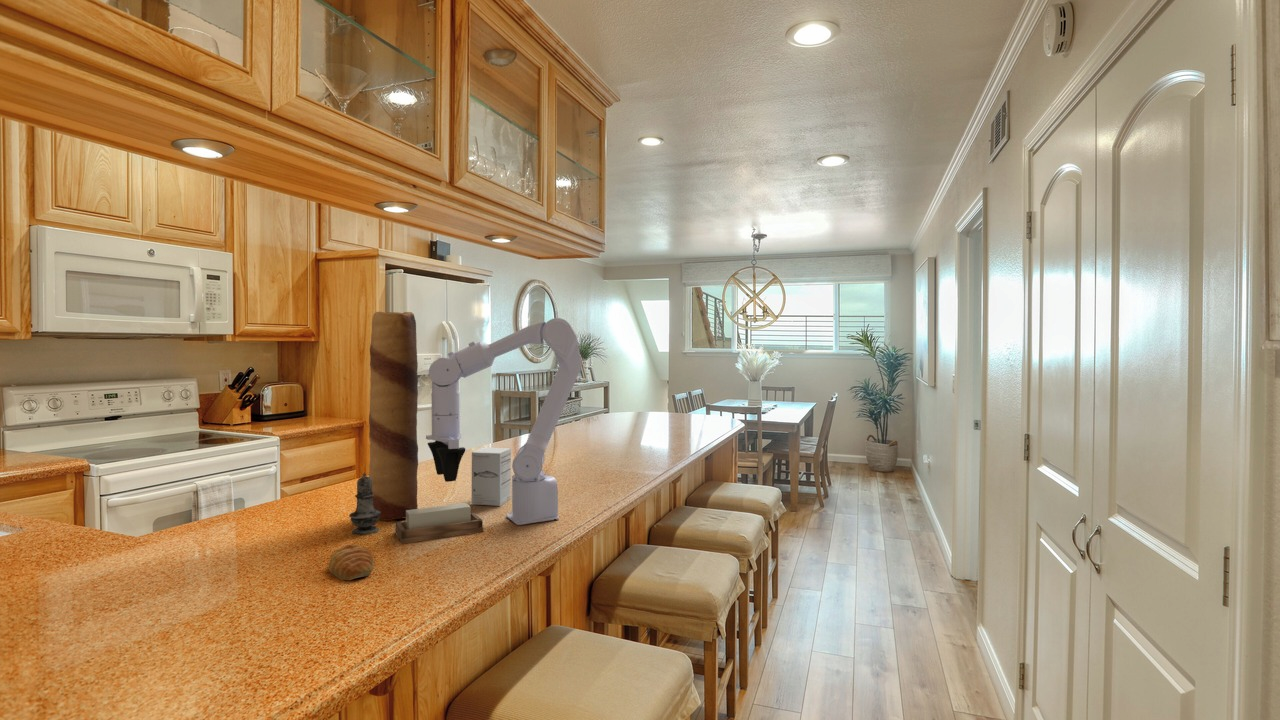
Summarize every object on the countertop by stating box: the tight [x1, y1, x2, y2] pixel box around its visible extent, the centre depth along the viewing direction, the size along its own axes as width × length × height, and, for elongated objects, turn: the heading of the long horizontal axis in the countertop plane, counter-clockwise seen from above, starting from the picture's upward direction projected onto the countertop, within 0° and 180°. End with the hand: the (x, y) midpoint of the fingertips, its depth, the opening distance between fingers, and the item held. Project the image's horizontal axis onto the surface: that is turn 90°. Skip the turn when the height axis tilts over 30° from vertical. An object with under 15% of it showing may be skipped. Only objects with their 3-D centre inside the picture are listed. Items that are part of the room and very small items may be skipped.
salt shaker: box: [348, 472, 381, 536], centre depth 127 cm, size 6×6×12 cm
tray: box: [394, 511, 484, 545], centre depth 127 cm, size 16×8×2 cm, turn 120°
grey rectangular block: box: [405, 502, 472, 530], centre depth 127 cm, size 12×4×4 cm, turn 120°
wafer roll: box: [368, 311, 419, 521], centre depth 138 cm, size 10×11×45 cm
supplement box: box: [471, 447, 512, 507], centre depth 150 cm, size 7×7×13 cm
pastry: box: [327, 543, 375, 581], centre depth 105 cm, size 9×7×4 cm
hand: (446, 477), depth 134 cm, fingers open, 7 cm apart
